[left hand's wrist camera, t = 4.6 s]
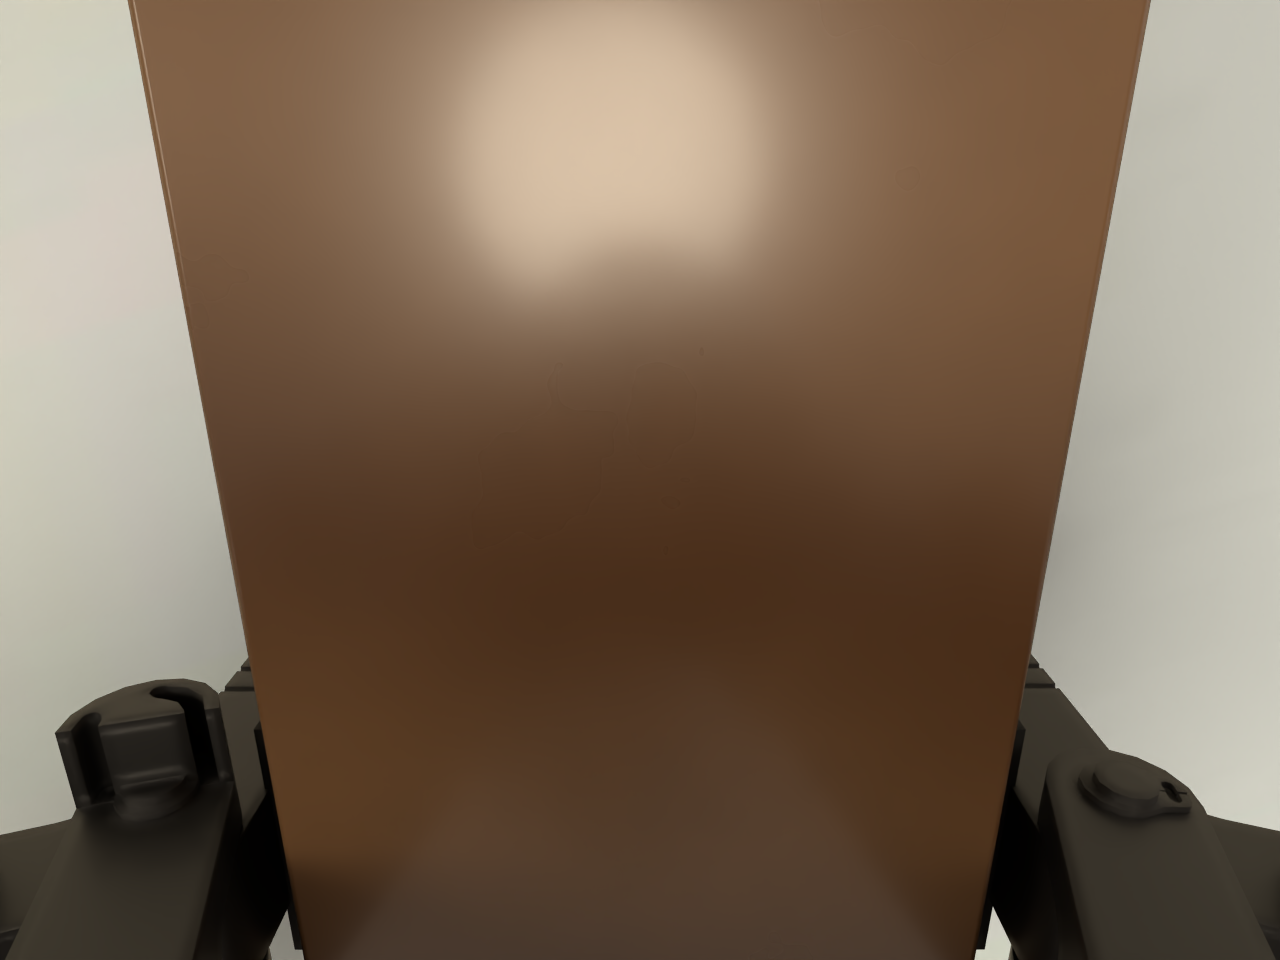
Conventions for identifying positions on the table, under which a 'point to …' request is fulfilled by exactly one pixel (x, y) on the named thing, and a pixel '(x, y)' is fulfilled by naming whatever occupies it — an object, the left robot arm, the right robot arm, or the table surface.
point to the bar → (639, 446)
